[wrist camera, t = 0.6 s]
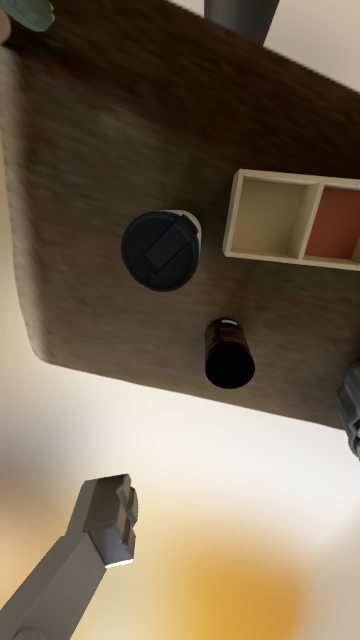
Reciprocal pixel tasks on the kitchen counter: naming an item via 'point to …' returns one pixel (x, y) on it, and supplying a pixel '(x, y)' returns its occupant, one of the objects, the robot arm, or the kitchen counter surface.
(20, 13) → the vegetable
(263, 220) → the organiser
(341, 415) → the bundt pan
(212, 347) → the supplement container
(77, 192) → the kitchen counter surface
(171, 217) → the travel mug
